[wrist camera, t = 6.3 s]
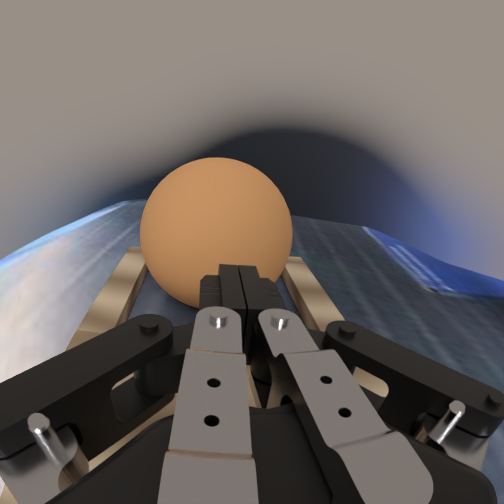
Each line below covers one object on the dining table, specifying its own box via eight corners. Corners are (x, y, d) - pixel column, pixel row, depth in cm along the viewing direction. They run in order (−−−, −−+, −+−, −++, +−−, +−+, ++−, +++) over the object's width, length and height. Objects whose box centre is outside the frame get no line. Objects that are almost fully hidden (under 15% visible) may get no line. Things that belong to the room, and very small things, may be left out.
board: (458, 546, 6) (477, 534, 5) (5, 565, 3) (-15, 555, 2) (298, 269, 35) (300, 257, 35) (131, 259, 32) (130, 246, 32)
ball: (283, 219, 15) (243, 366, 21) (322, 167, 25) (288, 280, 31) (104, 163, 18) (114, 301, 24) (198, 133, 27) (186, 240, 34)
